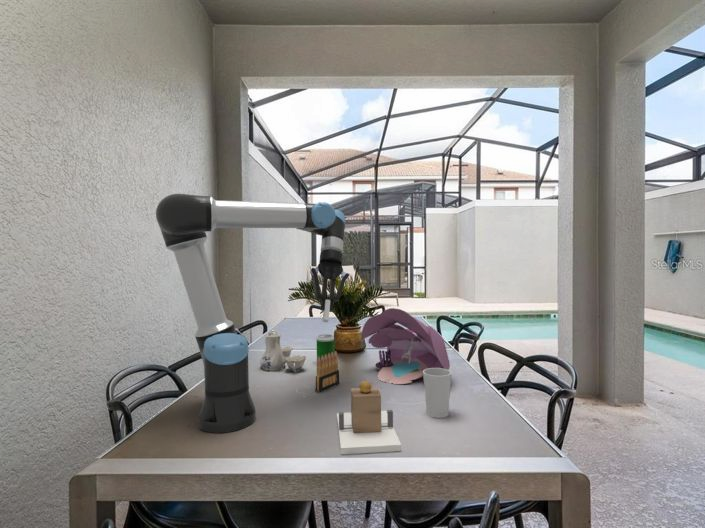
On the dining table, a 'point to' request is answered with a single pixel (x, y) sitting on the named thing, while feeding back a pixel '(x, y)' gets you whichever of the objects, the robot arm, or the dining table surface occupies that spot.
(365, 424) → the block
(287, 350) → the chinaware
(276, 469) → the dining table surface
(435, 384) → the cup
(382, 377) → the flower arrangement
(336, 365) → the ammunition clip
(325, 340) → the soda can
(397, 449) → the stand
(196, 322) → the robot arm
